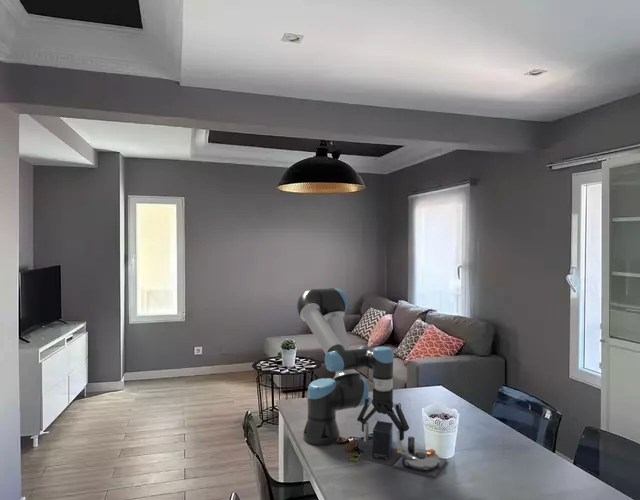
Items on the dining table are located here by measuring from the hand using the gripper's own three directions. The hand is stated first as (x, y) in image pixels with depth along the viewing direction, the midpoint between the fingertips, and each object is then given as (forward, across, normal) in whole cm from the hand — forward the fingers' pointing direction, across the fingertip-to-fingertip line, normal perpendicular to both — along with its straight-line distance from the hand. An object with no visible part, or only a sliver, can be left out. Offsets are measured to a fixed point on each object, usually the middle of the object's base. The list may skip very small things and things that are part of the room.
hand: (382, 444), depth 175 cm
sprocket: (+3, +15, 0) cm, 15 cm away
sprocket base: (+4, +15, 0) cm, 16 cm away
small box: (+4, 0, 0) cm, 4 cm away
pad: (+4, 0, 0) cm, 4 cm away
